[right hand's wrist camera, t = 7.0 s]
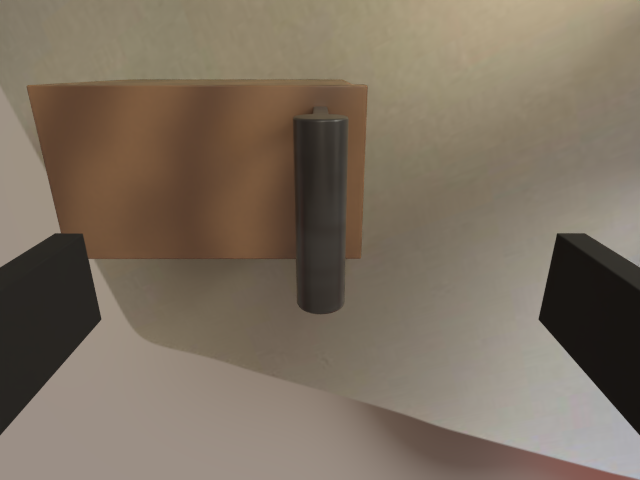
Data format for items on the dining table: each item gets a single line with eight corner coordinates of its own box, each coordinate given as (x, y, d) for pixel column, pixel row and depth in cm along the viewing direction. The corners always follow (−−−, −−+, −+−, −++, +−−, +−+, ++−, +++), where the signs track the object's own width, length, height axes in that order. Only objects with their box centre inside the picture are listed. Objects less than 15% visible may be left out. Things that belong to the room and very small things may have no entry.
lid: (365, 84, 23) (391, 93, 14) (359, 250, 26) (377, 332, 18) (40, 84, 22) (-117, 93, 14) (78, 250, 26) (-32, 333, 18)
